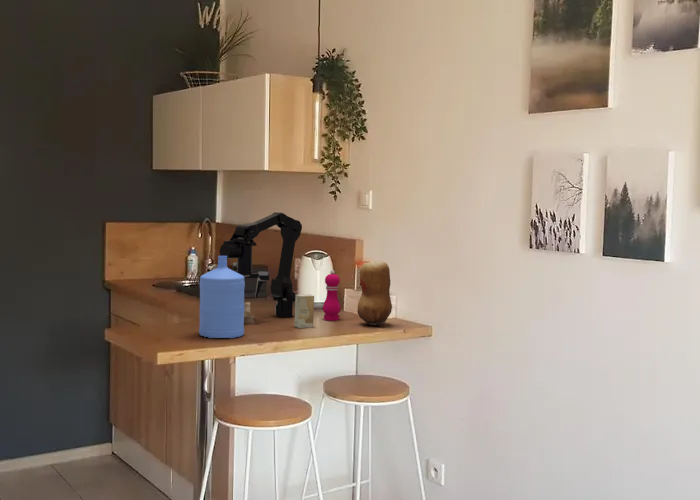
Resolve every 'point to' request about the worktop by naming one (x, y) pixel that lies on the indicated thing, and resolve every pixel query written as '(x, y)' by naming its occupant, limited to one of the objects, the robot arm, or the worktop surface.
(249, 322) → the beige flat block
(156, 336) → the worktop surface
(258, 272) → the robot arm
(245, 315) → the oak cube
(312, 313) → the skincare box
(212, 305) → the water jug
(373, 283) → the butternut squash
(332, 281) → the pepper mill
